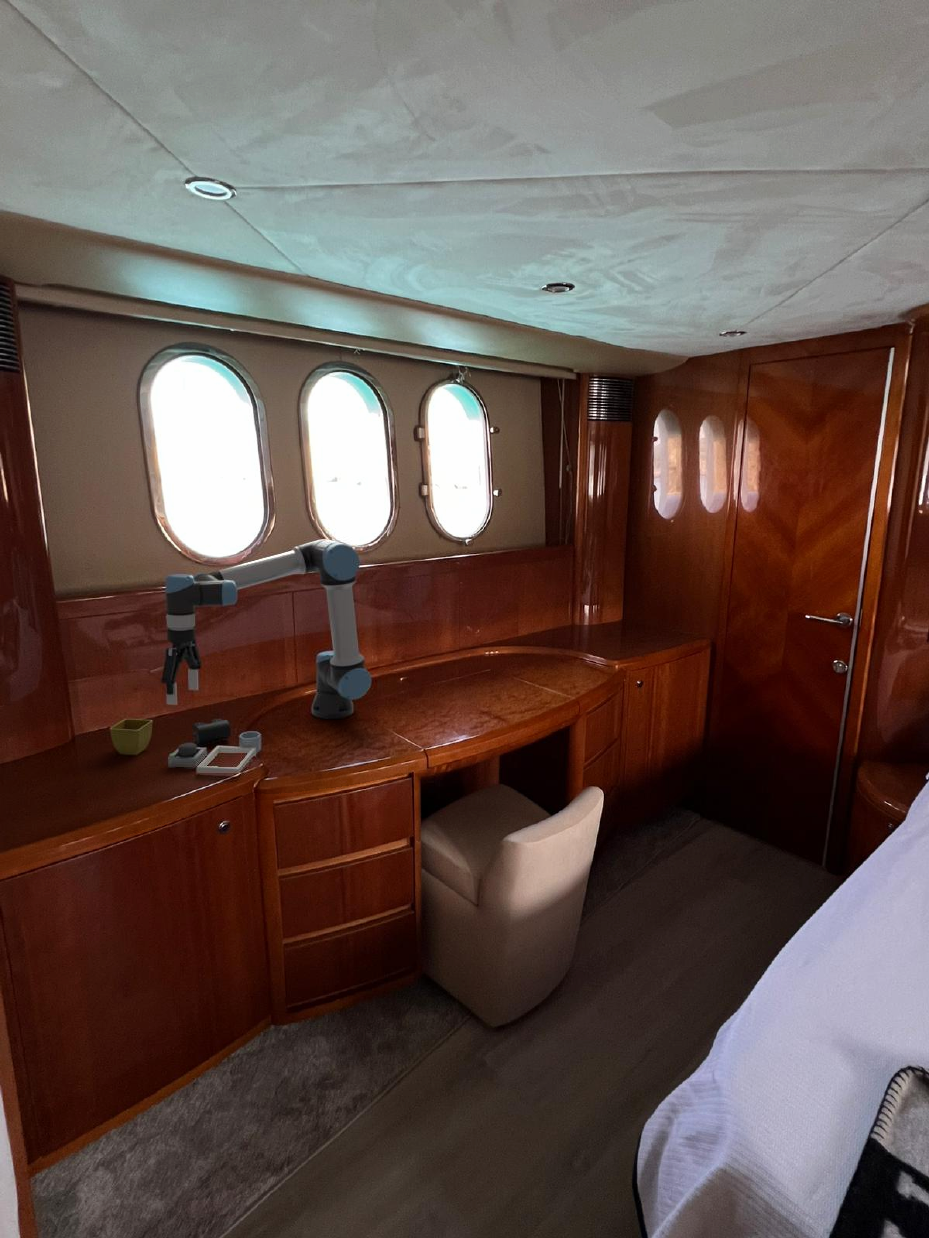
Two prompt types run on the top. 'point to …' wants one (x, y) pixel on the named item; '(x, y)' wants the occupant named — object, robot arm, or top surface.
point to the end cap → (211, 731)
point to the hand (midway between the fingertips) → (183, 696)
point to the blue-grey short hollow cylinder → (250, 740)
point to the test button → (187, 750)
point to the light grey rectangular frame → (226, 749)
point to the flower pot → (131, 735)
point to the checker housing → (186, 759)
